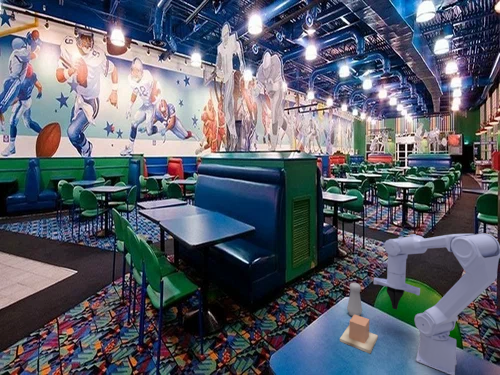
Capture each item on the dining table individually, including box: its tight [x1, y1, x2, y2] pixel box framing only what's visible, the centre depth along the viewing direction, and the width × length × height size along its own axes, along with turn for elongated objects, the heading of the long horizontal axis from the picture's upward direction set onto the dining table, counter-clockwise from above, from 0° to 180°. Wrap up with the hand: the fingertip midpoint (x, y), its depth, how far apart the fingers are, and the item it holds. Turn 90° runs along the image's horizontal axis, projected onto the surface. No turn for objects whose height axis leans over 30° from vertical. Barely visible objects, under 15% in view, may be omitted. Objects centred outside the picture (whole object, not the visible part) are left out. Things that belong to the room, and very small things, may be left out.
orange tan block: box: [348, 314, 370, 344], centre depth 91 cm, size 5×5×6 cm
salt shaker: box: [346, 282, 363, 317], centre depth 106 cm, size 6×6×13 cm
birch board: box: [339, 325, 379, 355], centre depth 91 cm, size 10×10×1 cm
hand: (395, 307), depth 94 cm, fingers closed
